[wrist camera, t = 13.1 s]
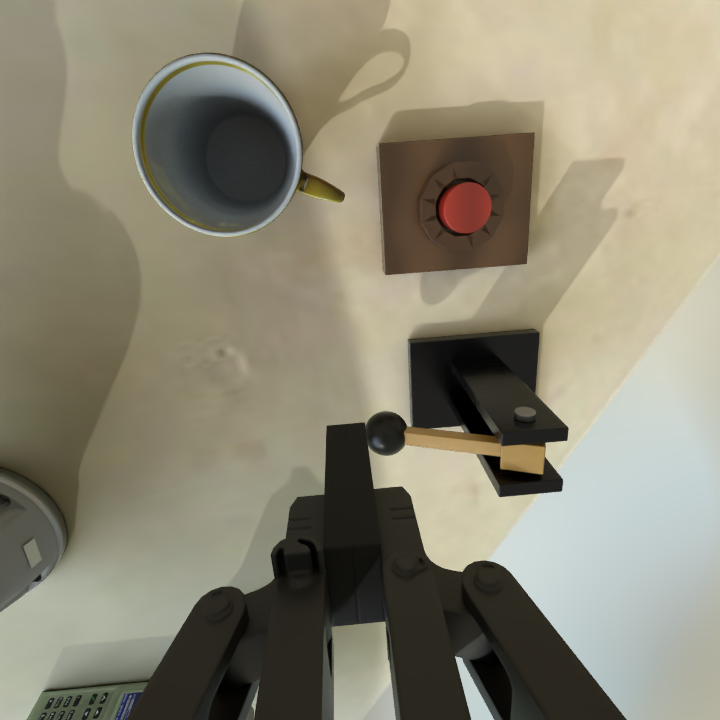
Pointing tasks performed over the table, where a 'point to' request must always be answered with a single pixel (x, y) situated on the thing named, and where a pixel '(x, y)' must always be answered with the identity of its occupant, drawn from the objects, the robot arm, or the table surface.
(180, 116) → the ceramic cup
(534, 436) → the switch bracket
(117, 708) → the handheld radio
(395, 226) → the button block
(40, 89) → the table surface
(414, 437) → the switch lever
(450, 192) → the button
